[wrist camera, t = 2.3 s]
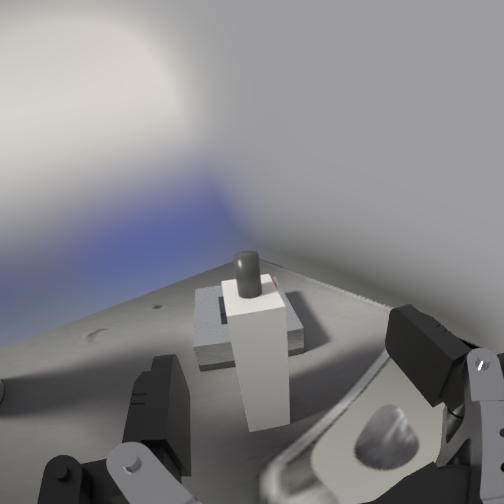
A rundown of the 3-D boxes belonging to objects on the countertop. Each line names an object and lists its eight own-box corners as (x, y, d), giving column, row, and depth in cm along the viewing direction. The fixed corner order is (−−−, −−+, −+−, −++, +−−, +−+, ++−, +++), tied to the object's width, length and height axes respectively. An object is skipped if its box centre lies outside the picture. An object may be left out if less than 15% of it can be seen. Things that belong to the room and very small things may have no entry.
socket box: (200, 371, 32) (192, 341, 31) (200, 310, 46) (194, 284, 45) (303, 353, 34) (303, 322, 32) (276, 297, 48) (274, 272, 46)
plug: (249, 432, 23) (219, 275, 17) (241, 393, 28) (216, 247, 22) (289, 424, 24) (283, 265, 18) (277, 387, 29) (265, 240, 23)
